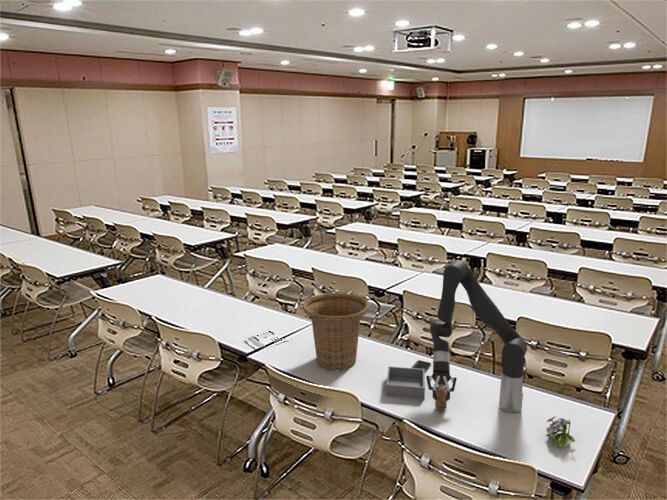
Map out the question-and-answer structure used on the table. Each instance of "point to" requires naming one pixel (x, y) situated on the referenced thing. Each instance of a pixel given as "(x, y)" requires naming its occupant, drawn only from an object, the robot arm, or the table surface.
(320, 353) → the wicker basket
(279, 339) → the office telephone
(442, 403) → the pepper mill
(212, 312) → the table surface
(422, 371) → the bin
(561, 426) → the passion flower
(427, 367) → the phone
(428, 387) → the robot arm
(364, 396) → the table surface
